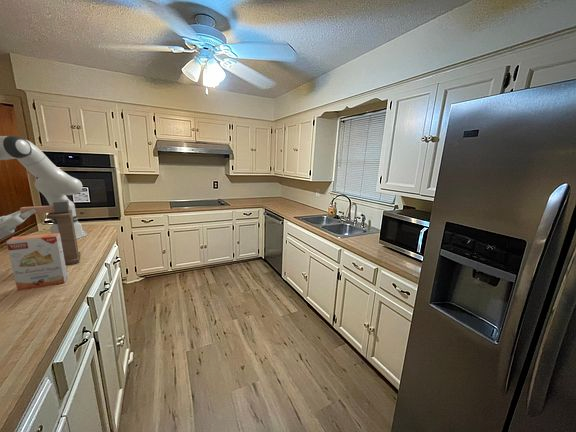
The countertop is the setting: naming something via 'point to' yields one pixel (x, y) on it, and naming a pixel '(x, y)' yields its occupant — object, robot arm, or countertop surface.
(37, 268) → the cracker box
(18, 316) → the countertop surface
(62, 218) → the walnut stand
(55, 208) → the terracotta bar
